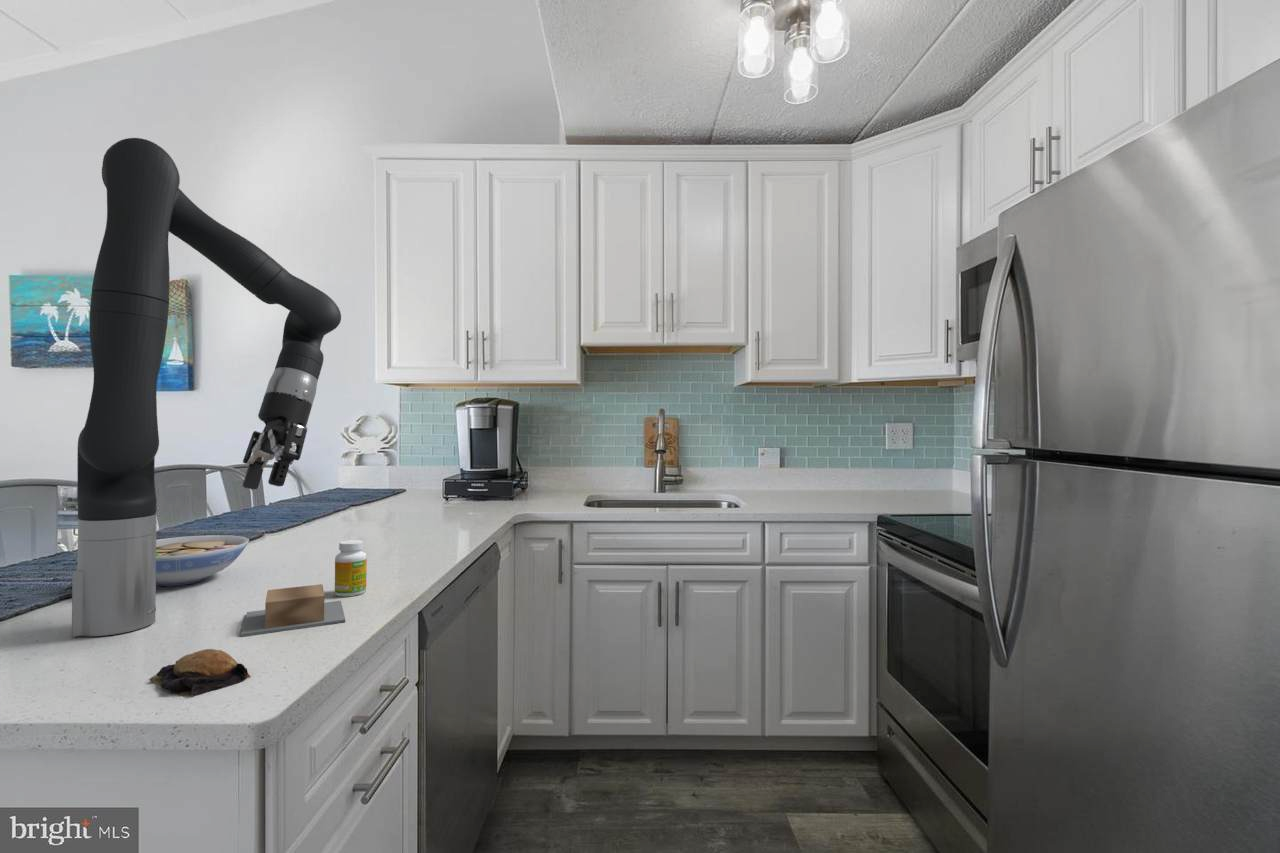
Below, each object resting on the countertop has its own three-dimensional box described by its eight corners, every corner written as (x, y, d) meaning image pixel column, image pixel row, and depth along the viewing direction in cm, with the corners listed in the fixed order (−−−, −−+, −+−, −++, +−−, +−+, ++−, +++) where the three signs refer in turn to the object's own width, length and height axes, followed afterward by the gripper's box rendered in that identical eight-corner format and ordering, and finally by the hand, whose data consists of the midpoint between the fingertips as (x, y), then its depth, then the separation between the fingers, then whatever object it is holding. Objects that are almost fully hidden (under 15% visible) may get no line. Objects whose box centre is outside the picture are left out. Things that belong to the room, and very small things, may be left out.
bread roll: (144, 685, 74) (144, 655, 74) (221, 662, 81) (221, 635, 81) (180, 707, 68) (180, 674, 68) (259, 680, 75) (259, 651, 75)
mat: (241, 636, 89) (241, 633, 89) (246, 614, 100) (247, 612, 100) (345, 622, 96) (345, 619, 96) (340, 602, 107) (340, 600, 107)
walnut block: (265, 628, 92) (265, 602, 92) (267, 614, 98) (267, 590, 98) (324, 620, 96) (324, 595, 96) (322, 607, 102) (322, 584, 102)
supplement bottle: (353, 598, 110) (354, 545, 110) (327, 596, 111) (328, 543, 111) (372, 590, 115) (372, 539, 115) (347, 588, 116) (348, 538, 116)
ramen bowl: (251, 587, 116) (251, 545, 116) (93, 606, 103) (93, 559, 103) (247, 562, 137) (247, 527, 137) (115, 576, 124) (115, 537, 124)
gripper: (247, 396, 107) (218, 484, 102) (289, 384, 100) (260, 478, 94) (288, 411, 113) (263, 494, 107) (331, 400, 106) (306, 489, 100)
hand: (262, 486), depth 101 cm, fingers open, 8 cm apart
